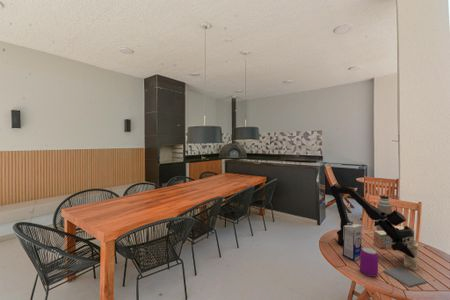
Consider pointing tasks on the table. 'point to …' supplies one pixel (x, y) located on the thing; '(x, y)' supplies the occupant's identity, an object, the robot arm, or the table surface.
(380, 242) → the stack of blocks
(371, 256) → the beverage can
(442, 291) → the table surface
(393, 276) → the charcoal board
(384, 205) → the thermos bottle
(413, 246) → the birch block
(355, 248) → the milk carton
